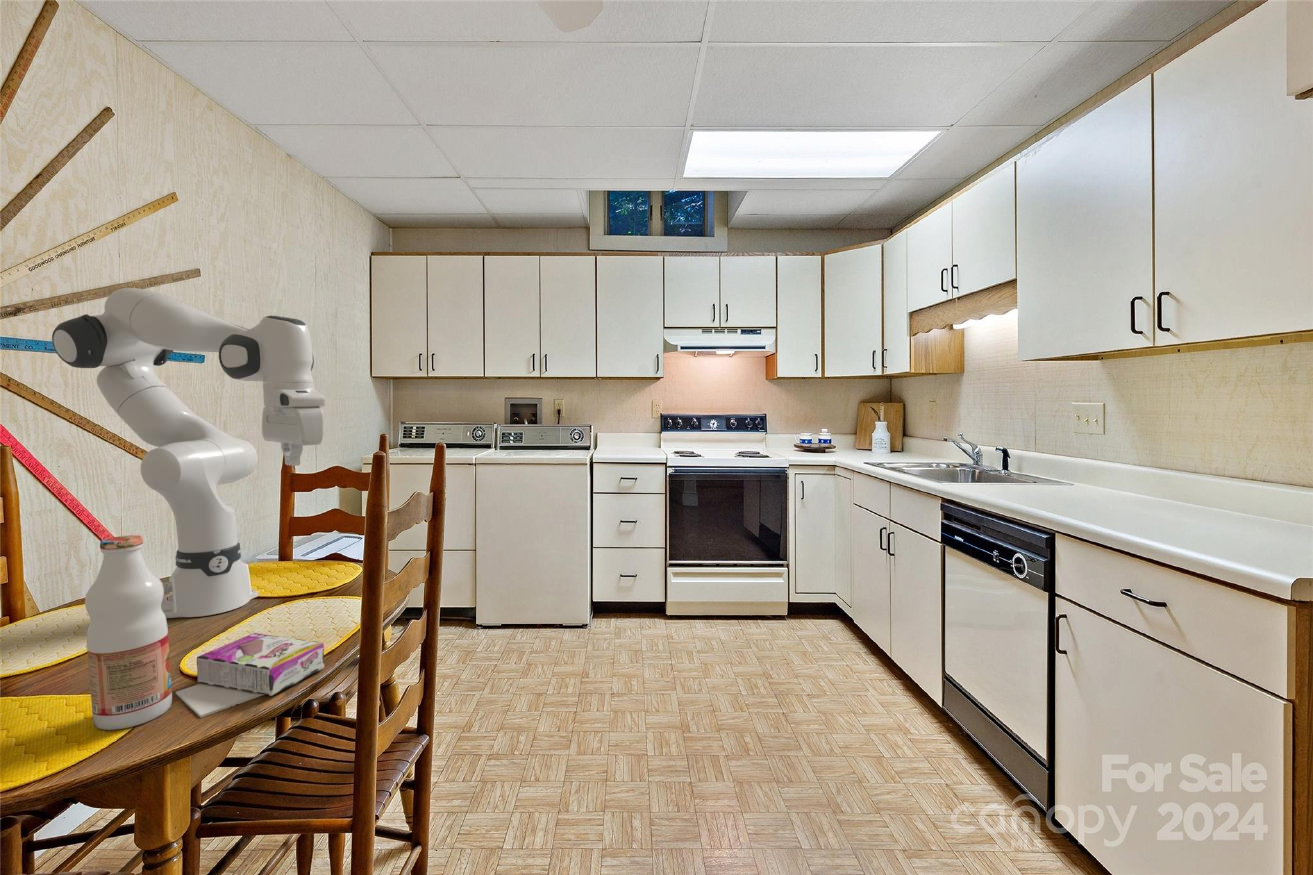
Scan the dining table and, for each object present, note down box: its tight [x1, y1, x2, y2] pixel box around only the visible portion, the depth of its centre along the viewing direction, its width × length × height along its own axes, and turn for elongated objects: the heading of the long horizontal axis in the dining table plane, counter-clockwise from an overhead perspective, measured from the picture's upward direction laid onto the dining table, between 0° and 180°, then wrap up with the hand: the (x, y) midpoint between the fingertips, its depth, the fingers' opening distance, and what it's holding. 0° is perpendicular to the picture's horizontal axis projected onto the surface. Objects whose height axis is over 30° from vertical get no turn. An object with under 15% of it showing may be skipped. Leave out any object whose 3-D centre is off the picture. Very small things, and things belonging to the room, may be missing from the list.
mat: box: [175, 681, 299, 719], centre depth 103 cm, size 12×14×1 cm
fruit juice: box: [84, 534, 173, 731], centre depth 93 cm, size 9×9×28 cm
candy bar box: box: [196, 632, 325, 697], centre depth 106 cm, size 11×5×16 cm
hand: (292, 465), depth 124 cm, fingers closed
